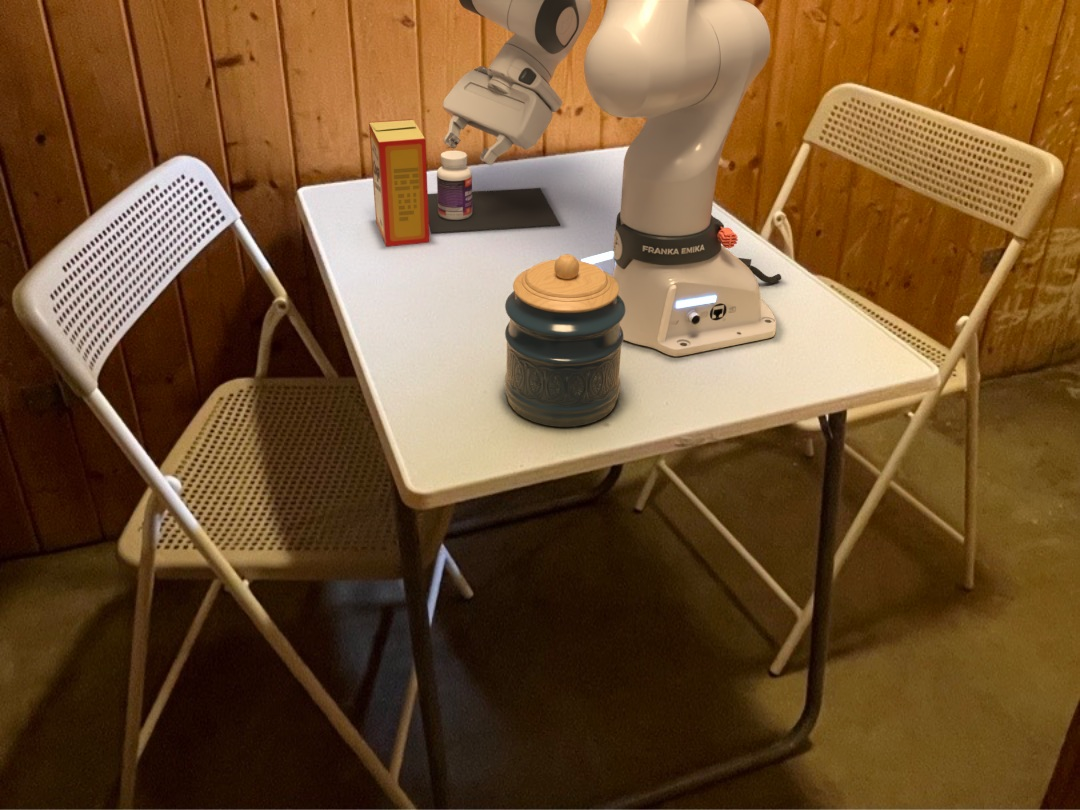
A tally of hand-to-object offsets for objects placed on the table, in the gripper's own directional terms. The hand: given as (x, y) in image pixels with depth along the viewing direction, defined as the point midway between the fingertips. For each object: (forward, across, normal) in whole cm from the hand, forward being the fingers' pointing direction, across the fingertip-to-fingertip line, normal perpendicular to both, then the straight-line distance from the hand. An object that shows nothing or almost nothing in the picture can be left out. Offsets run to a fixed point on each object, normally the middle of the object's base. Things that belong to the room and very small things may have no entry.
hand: (466, 153), depth 155 cm
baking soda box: (+16, 0, -2) cm, 16 cm away
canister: (+24, +50, -10) cm, 56 cm away
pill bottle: (+8, 0, +5) cm, 10 cm away
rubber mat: (+4, +1, +9) cm, 10 cm away
